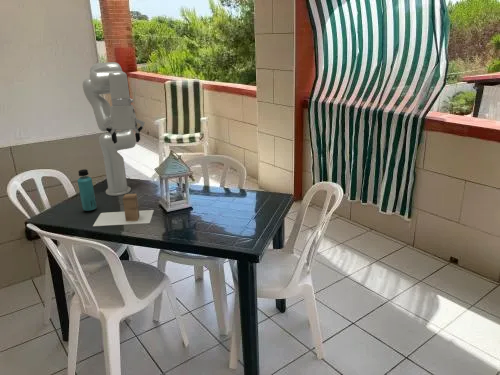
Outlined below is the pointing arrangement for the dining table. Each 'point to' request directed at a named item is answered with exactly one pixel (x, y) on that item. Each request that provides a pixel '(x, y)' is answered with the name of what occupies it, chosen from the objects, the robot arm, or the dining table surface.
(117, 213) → the white rectangular board
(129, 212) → the walnut block
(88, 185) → the beverage bottle
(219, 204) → the dining table surface
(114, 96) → the robot arm
